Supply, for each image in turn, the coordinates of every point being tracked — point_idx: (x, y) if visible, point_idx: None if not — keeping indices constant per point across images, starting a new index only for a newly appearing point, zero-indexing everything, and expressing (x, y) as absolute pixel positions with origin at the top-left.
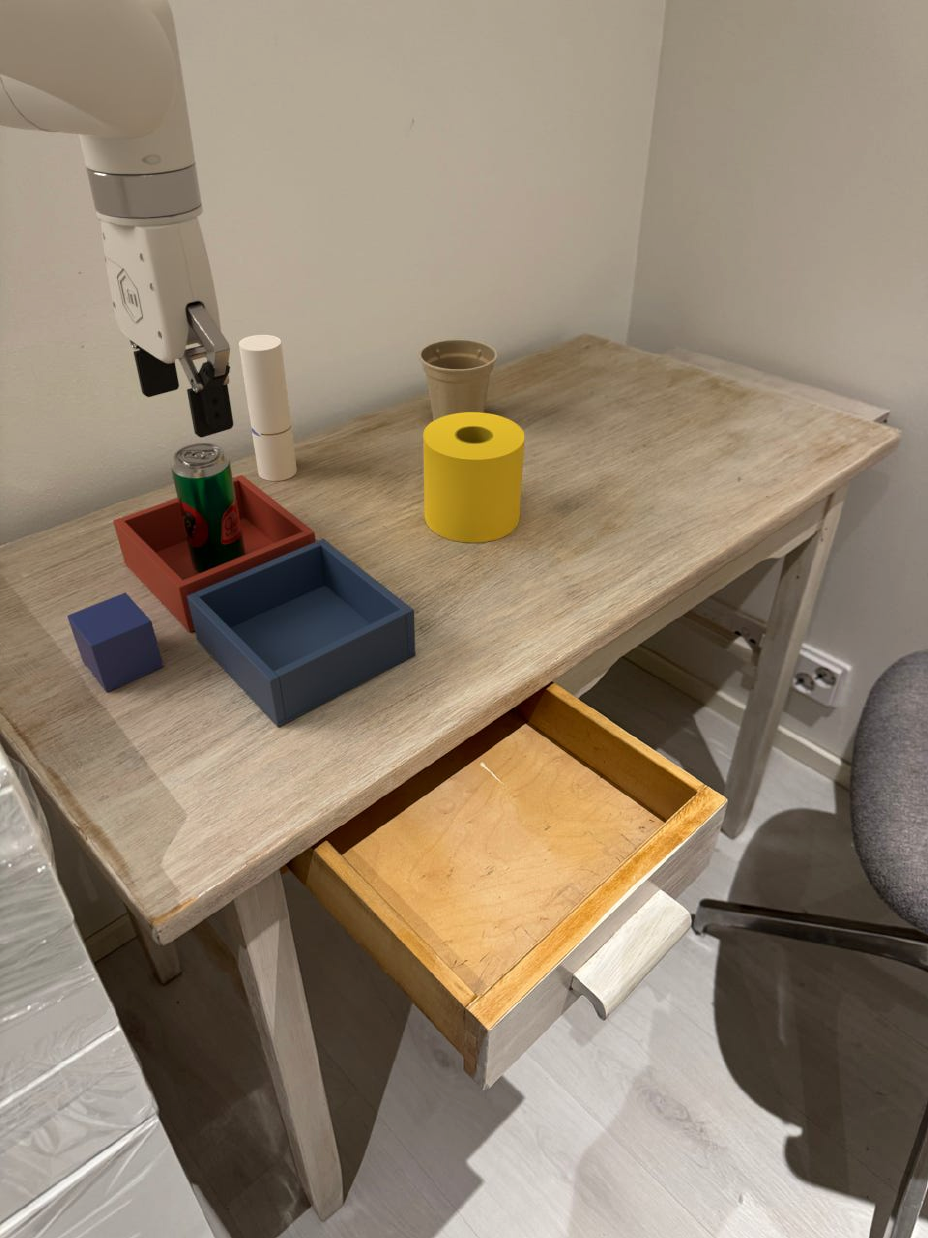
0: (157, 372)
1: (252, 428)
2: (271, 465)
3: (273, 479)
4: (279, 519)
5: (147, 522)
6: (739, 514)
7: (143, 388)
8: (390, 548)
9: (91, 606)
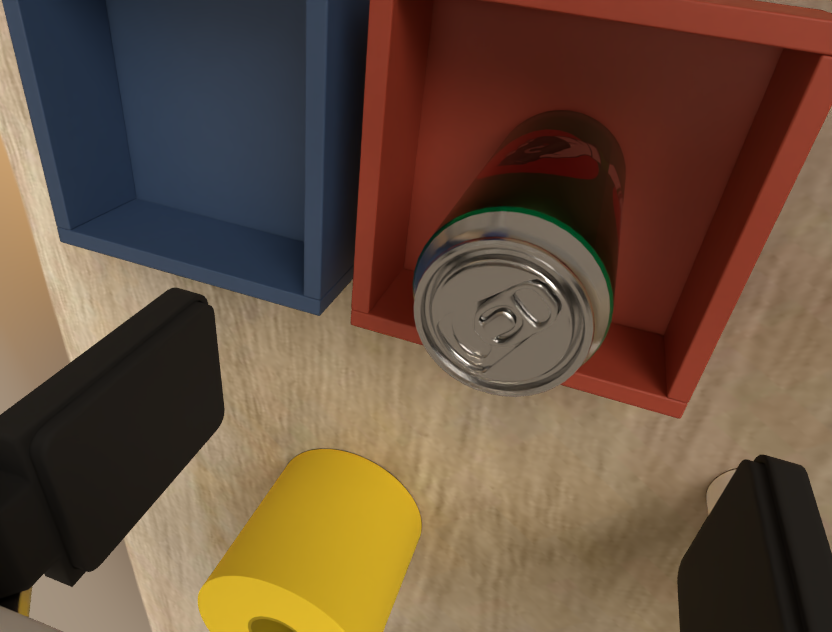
0: (725, 617)
1: None
2: None
3: (733, 472)
4: None
5: (780, 124)
6: (164, 600)
7: (774, 488)
8: (369, 392)
9: None
